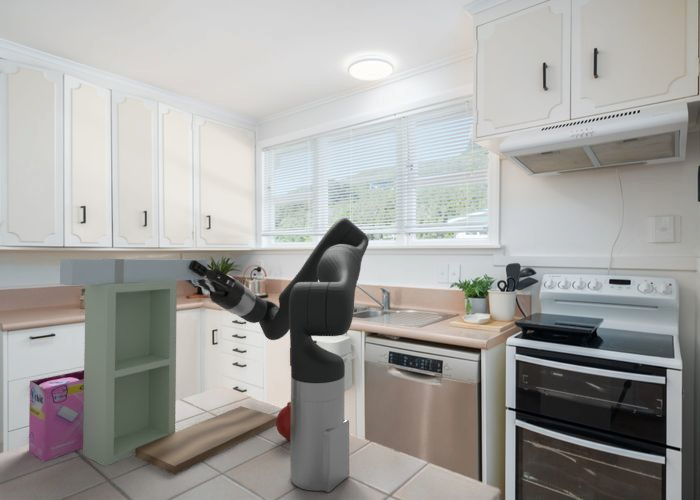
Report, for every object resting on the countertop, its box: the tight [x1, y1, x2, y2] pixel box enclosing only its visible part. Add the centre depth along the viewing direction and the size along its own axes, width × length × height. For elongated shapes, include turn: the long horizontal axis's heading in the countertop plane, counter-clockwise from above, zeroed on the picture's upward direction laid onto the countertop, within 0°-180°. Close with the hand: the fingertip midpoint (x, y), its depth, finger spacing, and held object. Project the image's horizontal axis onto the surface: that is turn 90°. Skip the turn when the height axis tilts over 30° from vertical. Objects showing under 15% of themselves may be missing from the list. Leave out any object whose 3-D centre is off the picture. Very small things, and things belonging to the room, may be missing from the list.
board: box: [134, 405, 278, 476], centre depth 84 cm, size 12×26×2 cm, turn 147°
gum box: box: [28, 369, 84, 462], centre depth 87 cm, size 24×8×14 cm, turn 145°
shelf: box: [82, 281, 178, 467], centre depth 81 cm, size 8×14×32 cm, turn 147°
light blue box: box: [59, 258, 208, 286], centre depth 83 cm, size 5×28×5 cm, turn 148°
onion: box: [275, 401, 291, 442], centre depth 84 cm, size 6×6×8 cm
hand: (183, 263), depth 91 cm, fingers open, 5 cm apart
